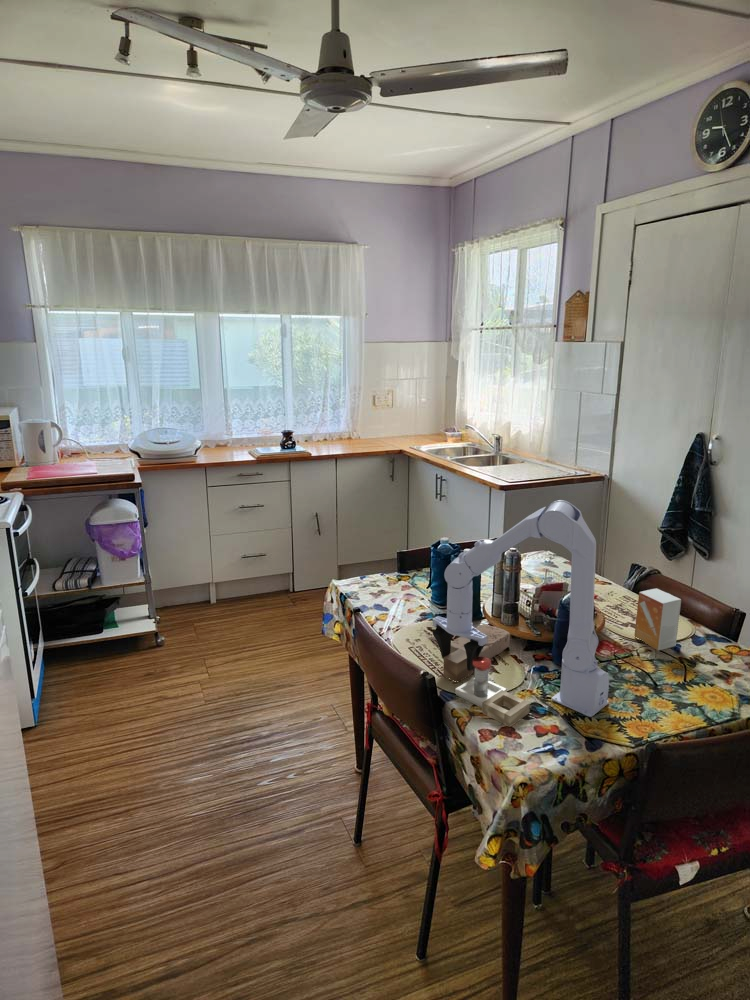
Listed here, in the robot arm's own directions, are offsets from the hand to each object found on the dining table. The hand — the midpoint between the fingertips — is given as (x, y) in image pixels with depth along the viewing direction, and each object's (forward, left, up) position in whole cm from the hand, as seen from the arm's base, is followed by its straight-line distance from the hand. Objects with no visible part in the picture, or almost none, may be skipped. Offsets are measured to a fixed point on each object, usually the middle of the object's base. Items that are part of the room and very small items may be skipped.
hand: (458, 663), depth 150 cm
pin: (-9, +3, -3) cm, 10 cm away
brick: (+3, -12, -4) cm, 13 cm away
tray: (-9, +3, -3) cm, 10 cm away
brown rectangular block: (0, 0, -3) cm, 3 cm away
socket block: (-17, +5, -3) cm, 18 cm away
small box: (-25, -49, -3) cm, 55 cm away
